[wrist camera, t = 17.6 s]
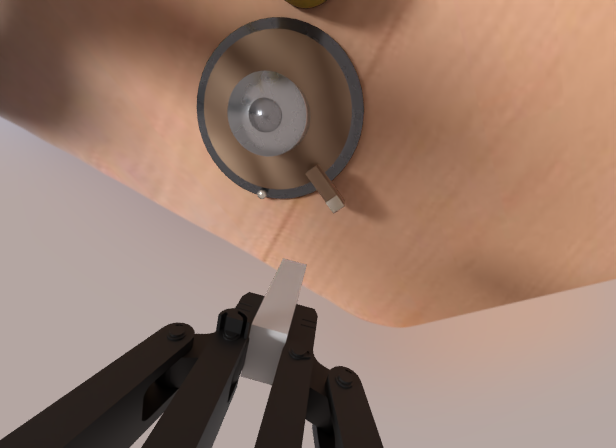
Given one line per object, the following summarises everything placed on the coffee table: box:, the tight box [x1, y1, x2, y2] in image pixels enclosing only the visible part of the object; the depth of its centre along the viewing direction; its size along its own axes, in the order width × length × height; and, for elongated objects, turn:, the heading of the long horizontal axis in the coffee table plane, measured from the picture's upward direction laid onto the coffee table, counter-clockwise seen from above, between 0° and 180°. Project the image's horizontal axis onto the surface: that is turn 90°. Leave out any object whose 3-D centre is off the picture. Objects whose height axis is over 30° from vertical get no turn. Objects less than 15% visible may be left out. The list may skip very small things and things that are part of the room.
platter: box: [204, 29, 352, 213], centre depth 36 cm, size 19×24×4 cm
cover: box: [227, 71, 311, 157], centre depth 34 cm, size 9×9×5 cm
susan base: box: [197, 17, 364, 199], centre depth 38 cm, size 22×22×1 cm
